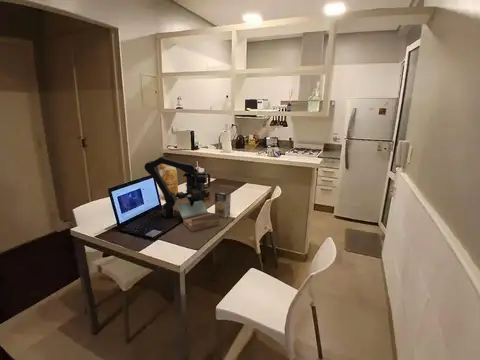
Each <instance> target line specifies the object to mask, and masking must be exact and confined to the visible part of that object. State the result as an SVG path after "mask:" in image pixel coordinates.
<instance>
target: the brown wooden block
mask: <svg viewBox="0 0 480 360" xmlns="http://www.w3.org/2000/svg"><path fill="white" fill-rule="evenodd" d="M182 222H183V225H184V226H185V227H187V228H188V229H189V231H191V232H197V231H201V230H205V229H209V228H212V227H216V225H217V226H219V225H220V216H219V213H215V212H214V213H209V212H208V213H207V214H202V215H198V216H193V217H189V218H185V219H182Z"/></svg>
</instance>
